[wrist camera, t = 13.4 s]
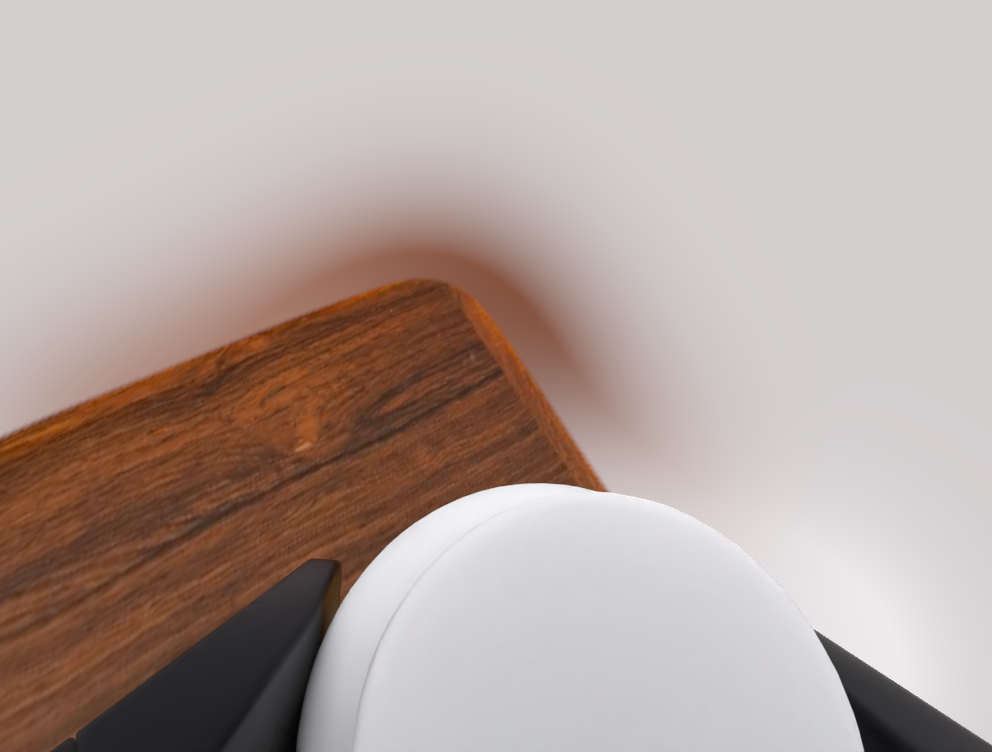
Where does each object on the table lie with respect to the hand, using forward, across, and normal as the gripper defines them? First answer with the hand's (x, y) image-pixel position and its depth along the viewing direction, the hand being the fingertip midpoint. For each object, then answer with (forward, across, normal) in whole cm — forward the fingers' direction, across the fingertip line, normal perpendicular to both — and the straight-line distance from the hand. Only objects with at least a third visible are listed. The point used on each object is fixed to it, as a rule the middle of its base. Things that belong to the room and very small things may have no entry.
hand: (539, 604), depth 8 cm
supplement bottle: (+4, 0, +6) cm, 7 cm away
